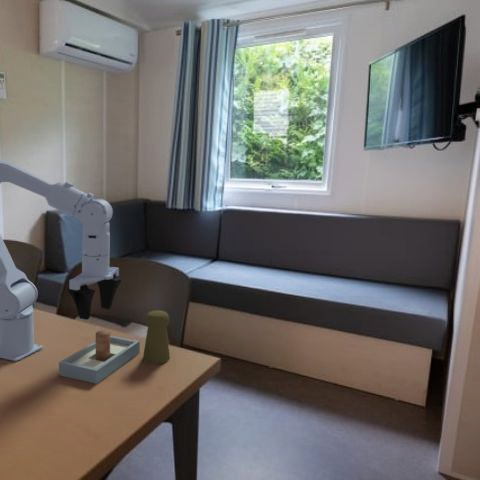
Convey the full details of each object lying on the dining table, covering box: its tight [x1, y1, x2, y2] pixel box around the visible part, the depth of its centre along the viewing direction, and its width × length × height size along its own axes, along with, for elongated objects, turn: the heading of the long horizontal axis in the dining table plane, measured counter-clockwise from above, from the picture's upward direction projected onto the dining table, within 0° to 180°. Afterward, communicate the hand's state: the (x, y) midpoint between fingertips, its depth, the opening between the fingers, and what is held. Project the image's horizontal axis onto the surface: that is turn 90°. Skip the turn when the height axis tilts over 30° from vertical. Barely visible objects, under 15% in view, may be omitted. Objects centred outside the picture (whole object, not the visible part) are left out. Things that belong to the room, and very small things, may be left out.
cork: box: [142, 309, 171, 365], centre depth 94 cm, size 6×6×11 cm
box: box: [58, 335, 141, 385], centre depth 91 cm, size 9×16×3 cm, turn 162°
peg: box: [95, 329, 111, 362], centre depth 91 cm, size 3×3×7 cm
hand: (95, 313), depth 94 cm, fingers open, 7 cm apart
